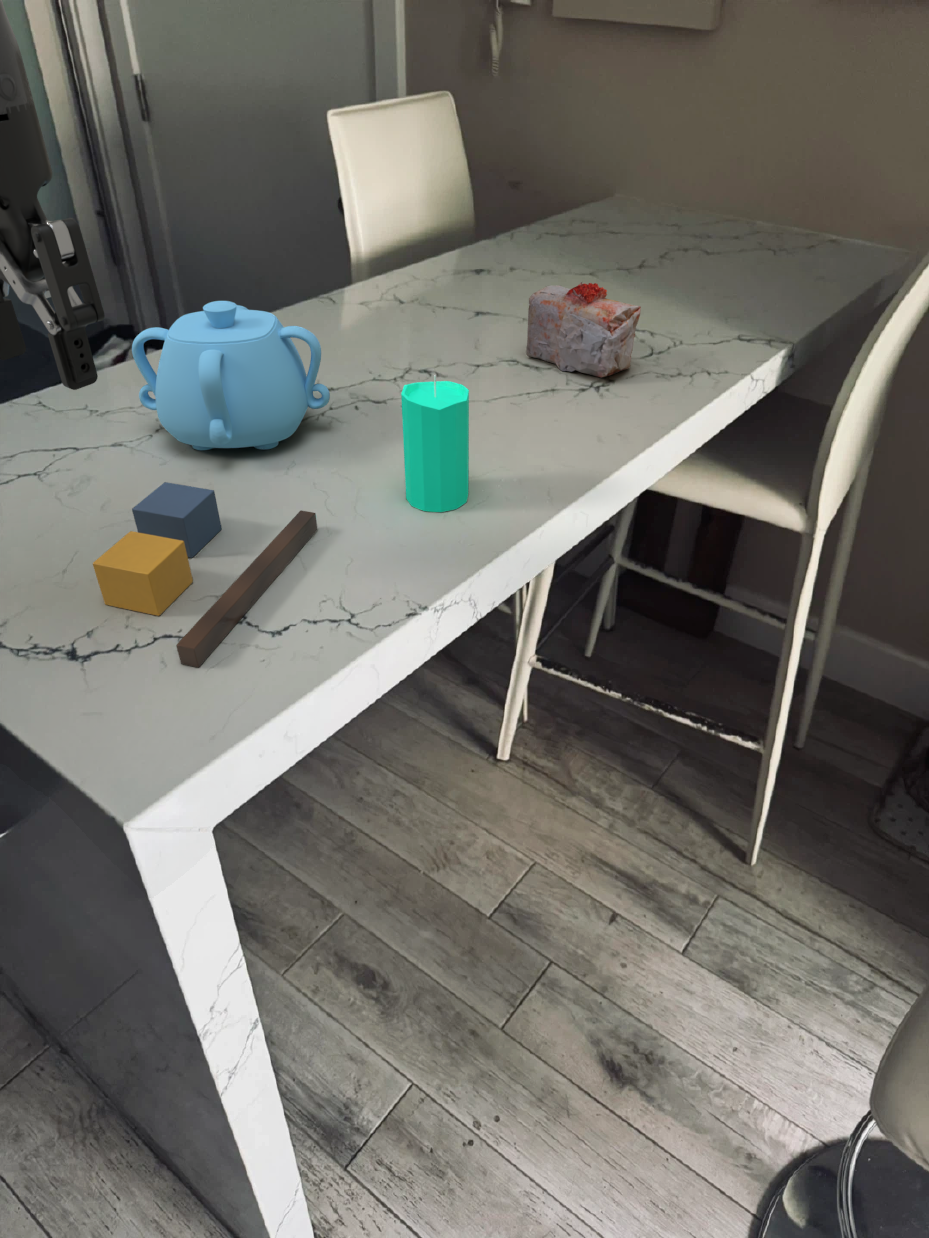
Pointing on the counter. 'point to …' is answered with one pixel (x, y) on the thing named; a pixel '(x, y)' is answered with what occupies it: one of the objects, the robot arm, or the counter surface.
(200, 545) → the slate block
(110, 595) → the ochre block
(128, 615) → the counter surface
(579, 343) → the food item
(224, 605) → the straightedge
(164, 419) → the decorative pot
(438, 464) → the candle
